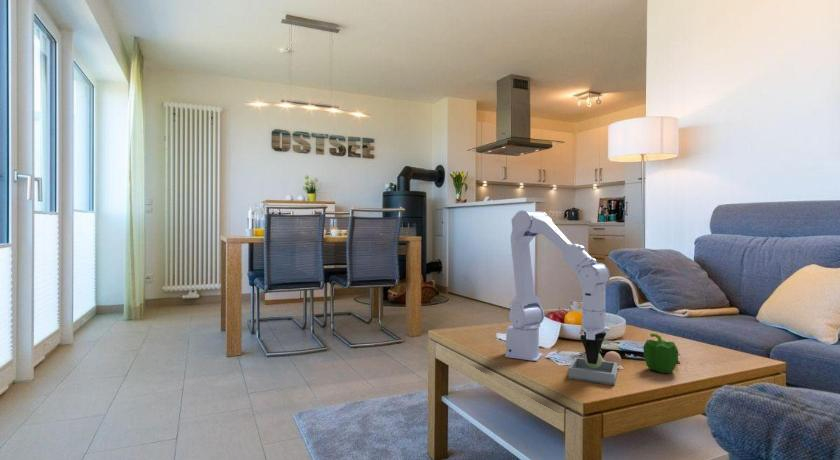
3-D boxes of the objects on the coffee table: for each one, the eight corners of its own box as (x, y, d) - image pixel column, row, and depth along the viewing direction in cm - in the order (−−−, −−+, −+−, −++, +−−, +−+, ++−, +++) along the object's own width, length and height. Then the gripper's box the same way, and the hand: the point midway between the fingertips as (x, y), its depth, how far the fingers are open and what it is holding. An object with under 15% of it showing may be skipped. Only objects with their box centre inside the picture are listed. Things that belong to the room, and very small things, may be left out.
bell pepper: (684, 372, 123) (684, 335, 123) (667, 377, 118) (668, 339, 118) (654, 364, 130) (654, 329, 130) (637, 369, 125) (637, 333, 125)
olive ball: (583, 368, 119) (583, 352, 118) (586, 363, 122) (586, 347, 122) (601, 371, 116) (601, 354, 116) (603, 366, 120) (603, 350, 120)
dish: (568, 378, 117) (568, 368, 117) (574, 367, 127) (574, 357, 127) (614, 385, 112) (614, 374, 112) (617, 373, 122) (617, 362, 122)
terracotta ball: (603, 368, 126) (603, 352, 126) (604, 364, 130) (605, 348, 130) (620, 370, 124) (620, 354, 124) (621, 366, 128) (621, 350, 128)
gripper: (607, 315, 111) (607, 371, 111) (612, 306, 124) (611, 356, 124) (577, 313, 114) (577, 366, 114) (585, 304, 127) (584, 352, 127)
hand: (593, 361), depth 119 cm, fingers closed on olive ball, 4 cm apart
